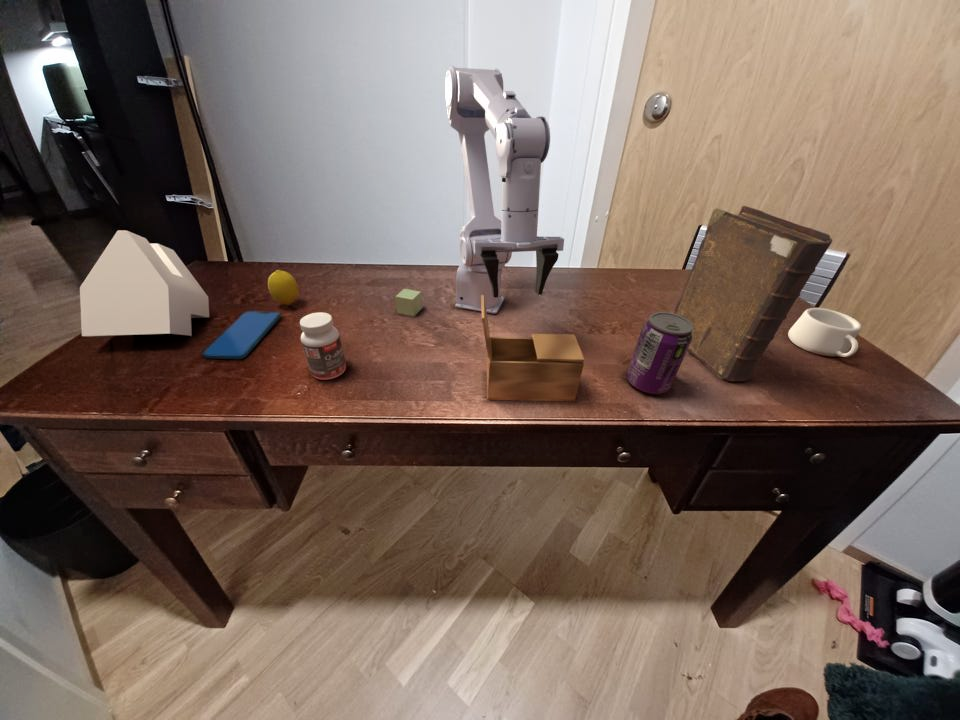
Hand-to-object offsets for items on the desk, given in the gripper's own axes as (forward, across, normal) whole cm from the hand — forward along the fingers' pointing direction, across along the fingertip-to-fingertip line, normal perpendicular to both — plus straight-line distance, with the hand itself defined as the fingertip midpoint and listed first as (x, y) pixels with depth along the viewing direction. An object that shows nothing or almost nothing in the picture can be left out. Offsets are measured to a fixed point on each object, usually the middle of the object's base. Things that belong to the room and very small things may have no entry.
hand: (517, 294), depth 63 cm
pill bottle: (+11, -33, -3) cm, 35 cm away
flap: (+1, -7, -11) cm, 13 cm away
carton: (+12, 0, -10) cm, 16 cm away
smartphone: (+8, -50, +9) cm, 52 cm away
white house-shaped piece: (+7, -67, +15) cm, 69 cm away
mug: (+13, +61, -4) cm, 62 cm away
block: (+8, -20, +17) cm, 27 cm away
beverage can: (+13, +20, -11) cm, 27 cm away
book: (+13, +35, -4) cm, 38 cm away
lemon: (+7, -46, +21) cm, 51 cm away
